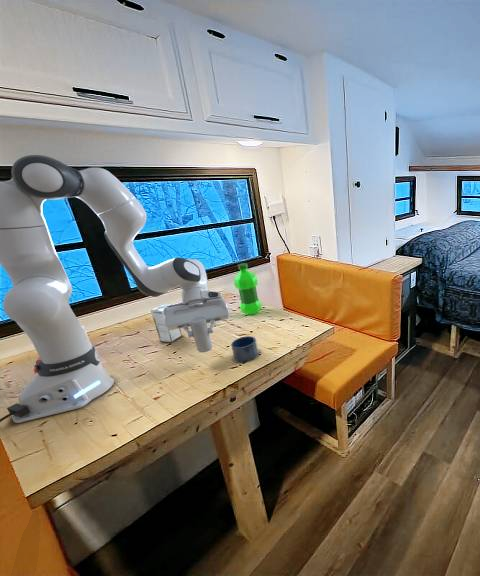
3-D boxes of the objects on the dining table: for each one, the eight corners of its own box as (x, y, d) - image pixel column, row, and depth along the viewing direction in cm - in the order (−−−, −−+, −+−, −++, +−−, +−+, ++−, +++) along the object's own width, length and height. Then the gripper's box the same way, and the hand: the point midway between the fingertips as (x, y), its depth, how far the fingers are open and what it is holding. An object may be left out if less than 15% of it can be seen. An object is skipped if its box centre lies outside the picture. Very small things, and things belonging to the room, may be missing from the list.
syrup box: (171, 334, 132) (162, 304, 127) (183, 335, 131) (173, 305, 126) (160, 341, 127) (149, 309, 122) (171, 342, 126) (161, 310, 121)
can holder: (236, 364, 109) (233, 350, 107) (232, 354, 116) (229, 340, 114) (260, 357, 114) (258, 343, 112) (255, 347, 120) (252, 334, 118)
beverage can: (206, 353, 108) (198, 323, 104) (194, 352, 109) (186, 322, 105) (215, 346, 112) (208, 317, 108) (204, 345, 113) (196, 316, 109)
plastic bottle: (266, 308, 156) (258, 261, 147) (255, 317, 146) (245, 267, 137) (249, 307, 157) (239, 261, 149) (236, 316, 148) (225, 267, 139)
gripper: (160, 302, 106) (163, 339, 101) (225, 291, 114) (231, 325, 109) (165, 309, 111) (169, 344, 106) (227, 298, 119) (233, 331, 115)
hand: (201, 334), depth 108 cm, fingers closed on beverage can, 5 cm apart
